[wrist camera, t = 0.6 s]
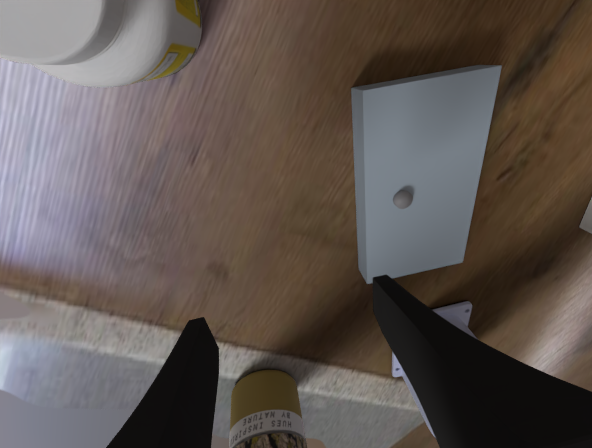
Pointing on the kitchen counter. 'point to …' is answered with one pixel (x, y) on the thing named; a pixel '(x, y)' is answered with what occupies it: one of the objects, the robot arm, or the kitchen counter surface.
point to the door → (419, 167)
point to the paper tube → (266, 412)
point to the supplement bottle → (101, 38)
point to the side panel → (587, 219)
